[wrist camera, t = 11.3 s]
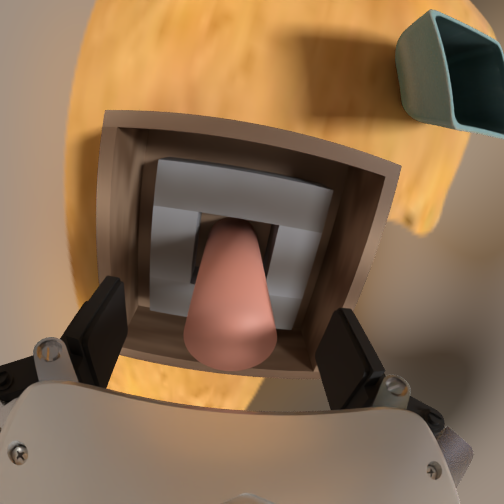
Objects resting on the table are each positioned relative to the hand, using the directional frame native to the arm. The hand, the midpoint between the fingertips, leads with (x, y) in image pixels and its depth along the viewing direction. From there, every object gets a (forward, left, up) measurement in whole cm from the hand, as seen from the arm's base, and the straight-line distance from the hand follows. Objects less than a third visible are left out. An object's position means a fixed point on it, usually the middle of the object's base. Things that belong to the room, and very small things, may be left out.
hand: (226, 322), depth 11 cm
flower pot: (-17, +14, -13) cm, 26 cm away
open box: (+1, 0, -13) cm, 13 cm away
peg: (+1, 0, -12) cm, 12 cm away
